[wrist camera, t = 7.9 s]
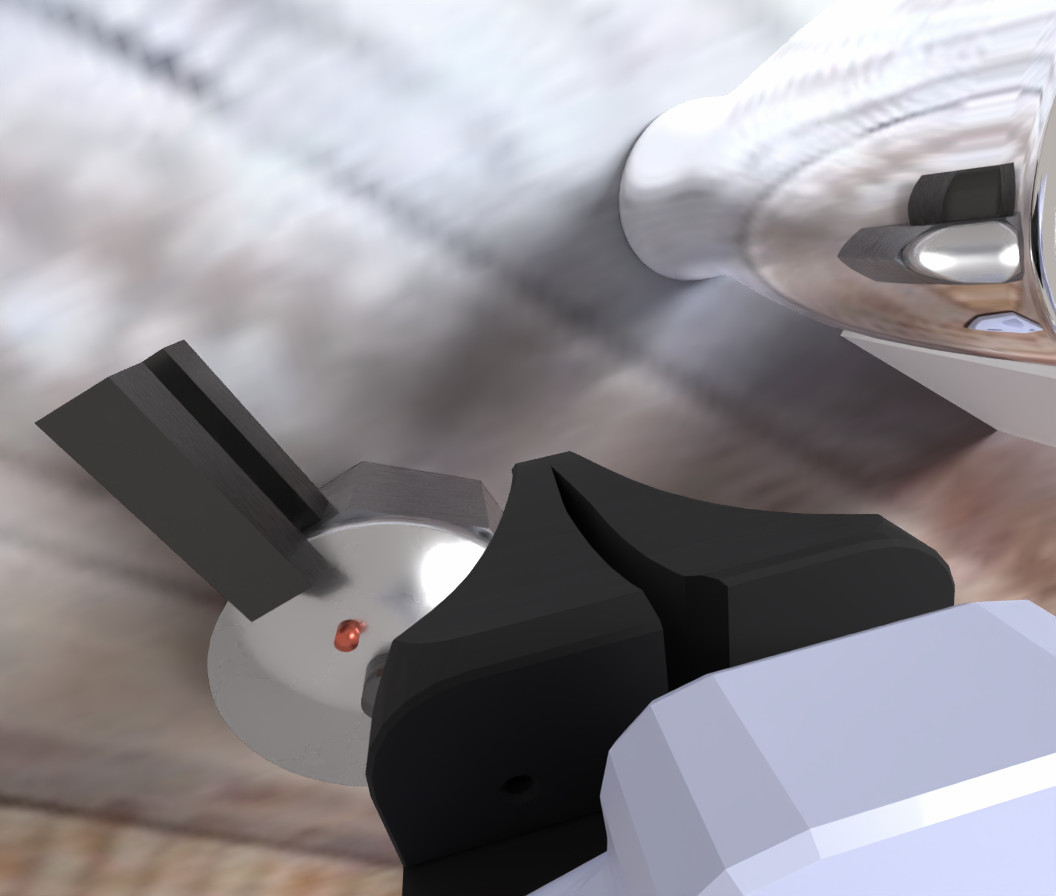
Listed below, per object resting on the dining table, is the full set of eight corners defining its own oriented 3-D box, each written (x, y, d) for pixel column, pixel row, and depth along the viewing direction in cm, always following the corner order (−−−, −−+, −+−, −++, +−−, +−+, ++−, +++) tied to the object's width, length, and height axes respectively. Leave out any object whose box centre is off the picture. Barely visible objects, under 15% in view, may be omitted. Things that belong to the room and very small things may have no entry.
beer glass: (593, 283, 20) (930, 387, 6) (622, 70, 18) (1277, -502, 4) (754, 298, 21) (1317, 408, 8) (802, 101, 19) (1765, -247, 5)
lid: (599, 673, 22) (616, 721, 20) (355, 808, 23) (347, 869, 21) (307, 261, 14) (284, 266, 12) (-51, 484, 15) (-132, 527, 13)
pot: (589, 633, 27) (614, 696, 23) (395, 745, 28) (390, 823, 24) (320, 257, 18) (292, 262, 15) (47, 434, 19) (-45, 482, 15)
